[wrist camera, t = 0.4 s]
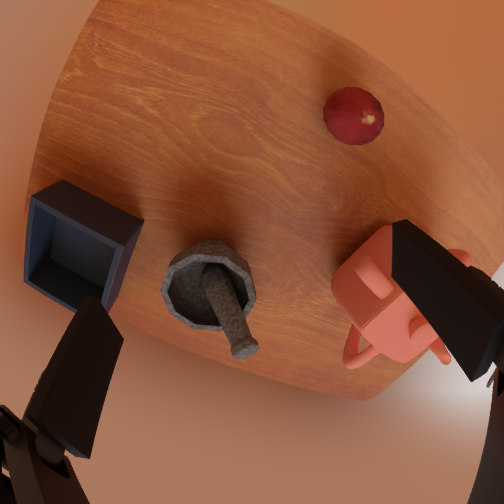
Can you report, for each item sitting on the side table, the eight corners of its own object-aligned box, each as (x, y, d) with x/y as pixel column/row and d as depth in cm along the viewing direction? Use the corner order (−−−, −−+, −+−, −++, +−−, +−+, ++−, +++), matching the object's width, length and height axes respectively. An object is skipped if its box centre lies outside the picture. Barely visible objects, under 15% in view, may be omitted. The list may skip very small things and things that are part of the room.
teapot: (324, 221, 33) (365, 285, 21) (433, 211, 32) (496, 259, 20) (323, 328, 40) (345, 401, 29) (415, 310, 40) (452, 369, 28)
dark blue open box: (47, 257, 34) (23, 281, 28) (61, 179, 29) (31, 195, 23) (117, 296, 37) (100, 326, 31) (144, 221, 32) (124, 246, 26)
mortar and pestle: (160, 264, 34) (130, 328, 24) (205, 209, 31) (186, 262, 21) (228, 312, 38) (225, 383, 28) (278, 267, 35) (291, 335, 24)
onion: (354, 83, 25) (388, 76, 18) (373, 130, 28) (410, 139, 20) (307, 100, 26) (328, 95, 19) (328, 148, 29) (354, 160, 21)
